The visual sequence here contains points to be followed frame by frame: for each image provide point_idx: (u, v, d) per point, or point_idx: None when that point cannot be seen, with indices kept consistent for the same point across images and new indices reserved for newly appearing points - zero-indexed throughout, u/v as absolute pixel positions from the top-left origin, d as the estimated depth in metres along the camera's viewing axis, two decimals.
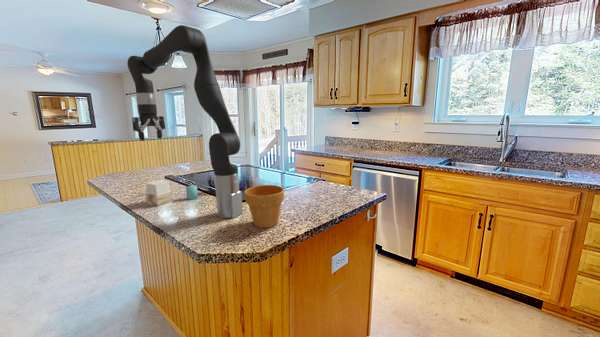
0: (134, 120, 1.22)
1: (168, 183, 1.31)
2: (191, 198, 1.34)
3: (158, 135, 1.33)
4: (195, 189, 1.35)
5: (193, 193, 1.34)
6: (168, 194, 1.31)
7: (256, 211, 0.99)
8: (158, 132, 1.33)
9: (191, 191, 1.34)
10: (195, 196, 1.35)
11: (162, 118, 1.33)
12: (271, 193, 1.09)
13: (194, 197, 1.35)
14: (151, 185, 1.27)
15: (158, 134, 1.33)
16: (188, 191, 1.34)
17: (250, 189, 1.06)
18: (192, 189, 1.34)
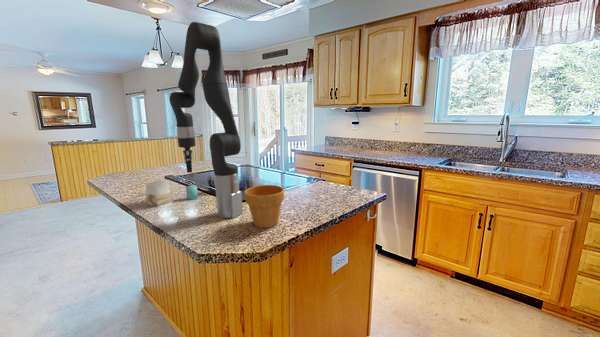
0: (188, 153, 1.26)
1: (168, 183, 1.30)
2: (191, 198, 1.34)
3: None
4: (195, 189, 1.35)
5: (193, 193, 1.34)
6: (168, 194, 1.30)
7: (256, 211, 0.99)
8: None
9: (191, 191, 1.34)
10: (195, 196, 1.35)
11: None
12: (271, 193, 1.09)
13: (194, 197, 1.35)
14: (151, 185, 1.26)
15: None
16: (188, 191, 1.34)
17: (250, 189, 1.06)
18: (192, 189, 1.34)
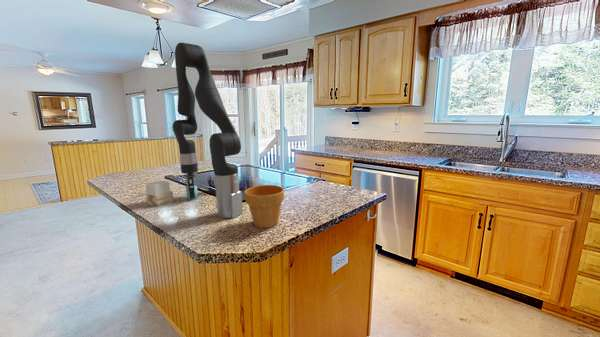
0: (191, 182, 1.29)
1: (167, 183, 1.30)
2: None
3: None
4: (195, 189, 1.35)
5: None
6: (168, 194, 1.31)
7: (256, 211, 0.99)
8: None
9: None
10: (195, 196, 1.35)
11: None
12: (271, 193, 1.09)
13: None
14: (150, 185, 1.26)
15: None
16: (188, 191, 1.34)
17: (250, 189, 1.06)
18: None
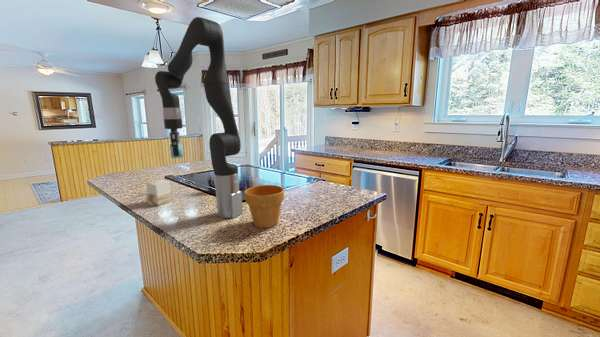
0: (174, 137, 1.23)
1: (168, 183, 1.31)
2: (175, 156, 1.29)
3: None
4: (179, 146, 1.29)
5: None
6: (168, 194, 1.31)
7: (256, 212, 0.99)
8: None
9: None
10: (179, 154, 1.29)
11: None
12: (271, 193, 1.09)
13: None
14: (151, 185, 1.27)
15: None
16: (172, 148, 1.28)
17: (250, 189, 1.06)
18: None
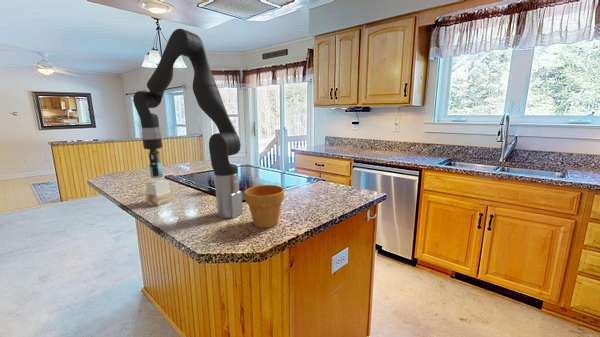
0: (153, 158, 1.21)
1: (168, 183, 1.31)
2: (154, 176, 1.27)
3: None
4: (159, 166, 1.27)
5: None
6: (168, 194, 1.31)
7: (256, 212, 0.99)
8: None
9: None
10: (159, 174, 1.27)
11: None
12: (271, 193, 1.09)
13: None
14: (151, 185, 1.27)
15: None
16: (151, 168, 1.26)
17: (250, 189, 1.06)
18: None
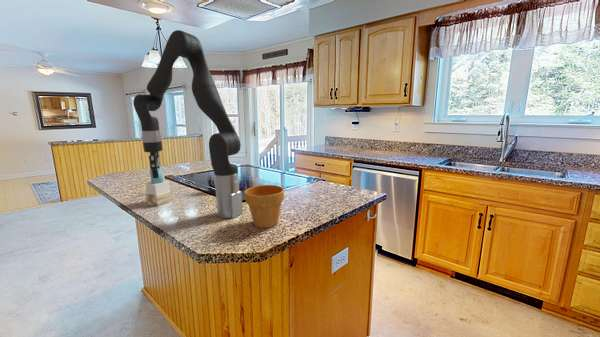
0: (153, 158, 1.21)
1: (168, 183, 1.31)
2: (155, 181, 1.27)
3: None
4: (159, 172, 1.28)
5: None
6: (168, 194, 1.31)
7: (256, 212, 0.99)
8: (157, 168, 1.32)
9: None
10: (160, 179, 1.28)
11: (158, 153, 1.33)
12: (271, 193, 1.09)
13: (158, 180, 1.27)
14: (151, 185, 1.27)
15: None
16: None
17: (250, 189, 1.06)
18: None
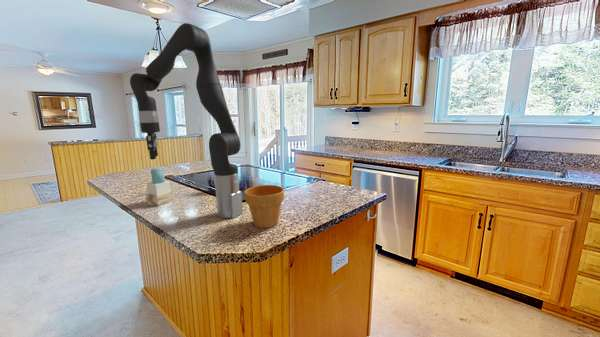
0: (150, 139, 1.19)
1: (168, 183, 1.31)
2: (156, 181, 1.27)
3: (154, 153, 1.30)
4: (160, 172, 1.28)
5: (158, 176, 1.27)
6: (168, 194, 1.31)
7: (256, 212, 0.99)
8: (154, 150, 1.30)
9: (156, 174, 1.27)
10: (160, 179, 1.28)
11: (155, 135, 1.31)
12: (271, 193, 1.09)
13: (159, 180, 1.27)
14: (151, 185, 1.27)
15: (155, 152, 1.30)
16: (153, 174, 1.27)
17: (250, 189, 1.06)
18: (157, 172, 1.27)
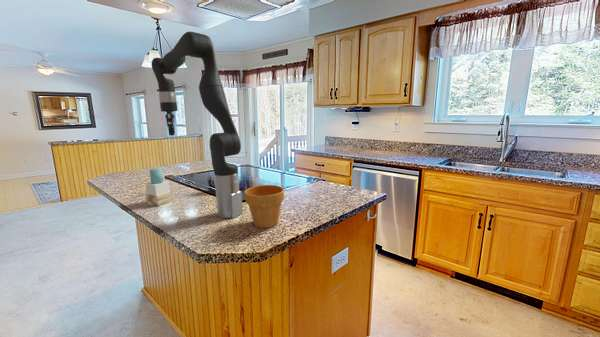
0: (169, 116, 1.33)
1: (168, 183, 1.30)
2: (155, 182, 1.27)
3: None
4: (159, 172, 1.27)
5: (157, 176, 1.27)
6: (168, 194, 1.31)
7: (256, 212, 0.99)
8: None
9: (154, 174, 1.26)
10: (159, 180, 1.28)
11: None
12: (271, 193, 1.09)
13: (157, 180, 1.27)
14: (150, 185, 1.26)
15: None
16: (151, 174, 1.26)
17: (250, 189, 1.06)
18: (155, 172, 1.26)
